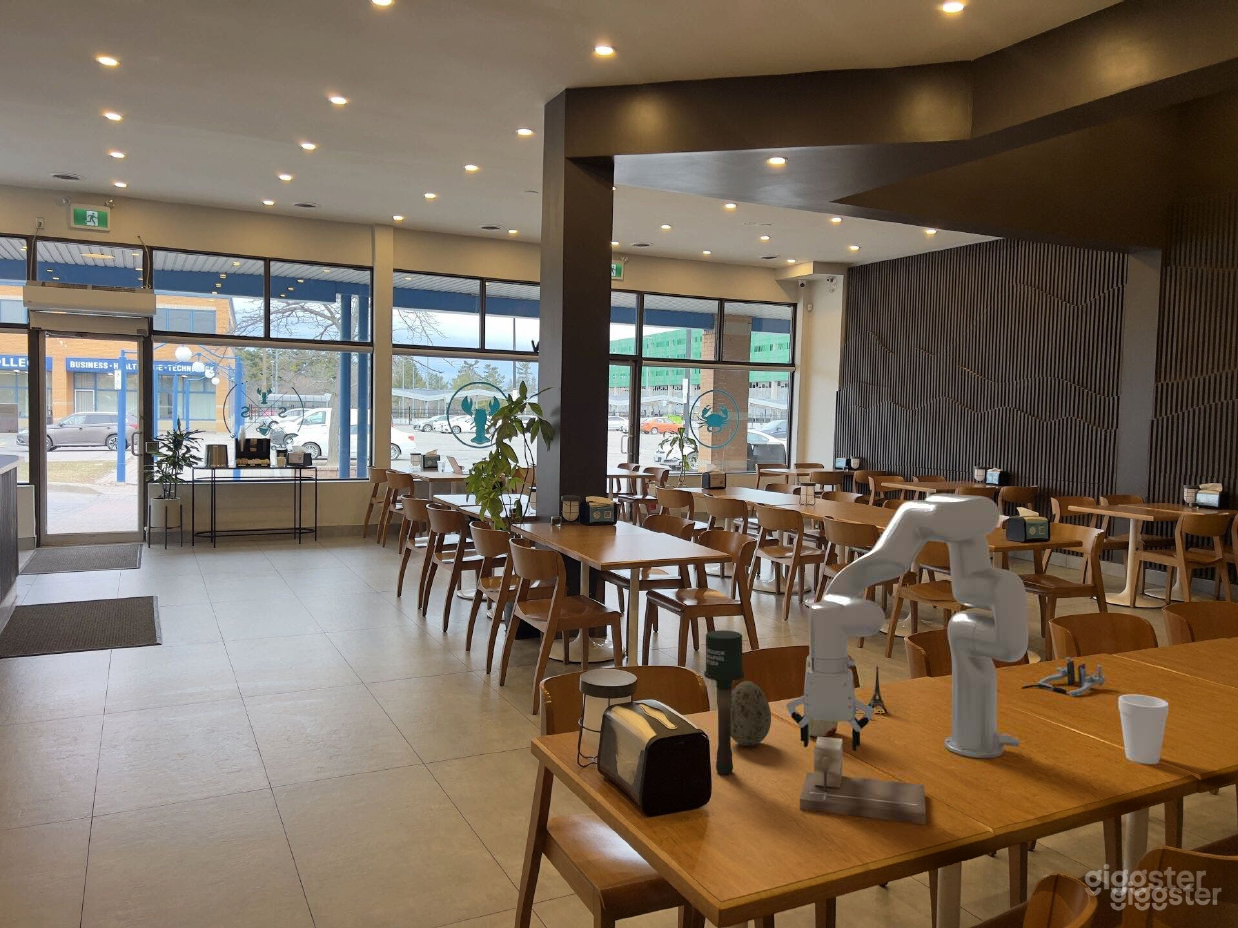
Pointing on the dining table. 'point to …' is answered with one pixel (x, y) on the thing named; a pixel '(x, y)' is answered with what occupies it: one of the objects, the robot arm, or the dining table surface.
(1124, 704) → the foam cup
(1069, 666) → the bike brake
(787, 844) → the dining table surface
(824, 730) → the food model
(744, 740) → the decorative egg
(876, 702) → the eiffel tower figurine
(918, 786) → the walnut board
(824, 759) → the block
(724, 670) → the stick grenade
